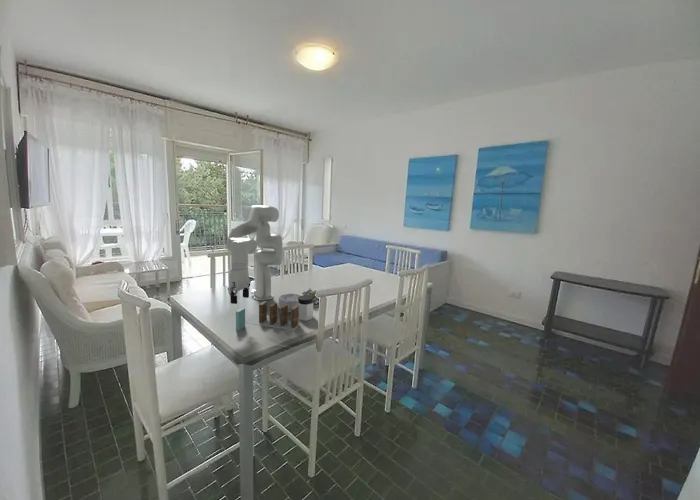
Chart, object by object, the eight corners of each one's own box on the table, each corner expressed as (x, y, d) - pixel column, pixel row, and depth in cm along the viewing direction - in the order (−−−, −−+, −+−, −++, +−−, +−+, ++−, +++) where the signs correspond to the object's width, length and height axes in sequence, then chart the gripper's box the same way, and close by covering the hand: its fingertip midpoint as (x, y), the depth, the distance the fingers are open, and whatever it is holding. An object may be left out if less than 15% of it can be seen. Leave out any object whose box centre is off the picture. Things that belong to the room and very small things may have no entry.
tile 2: (259, 322, 151) (258, 304, 149) (263, 319, 155) (263, 301, 154) (262, 323, 150) (262, 304, 149) (266, 319, 155) (266, 301, 153)
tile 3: (269, 324, 149) (269, 305, 148) (274, 320, 154) (274, 302, 152) (272, 324, 149) (272, 306, 147) (277, 321, 154) (277, 303, 152)
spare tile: (236, 330, 141) (235, 311, 140) (242, 326, 146) (241, 307, 144) (239, 331, 141) (239, 311, 139) (245, 326, 146) (245, 308, 144)
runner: (242, 323, 150) (242, 322, 150) (252, 315, 160) (252, 315, 160) (294, 331, 144) (294, 330, 144) (301, 323, 153) (301, 322, 153)
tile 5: (290, 327, 147) (291, 309, 145) (294, 323, 152) (295, 305, 150) (294, 328, 146) (294, 309, 145) (298, 324, 151) (298, 306, 149)
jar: (306, 313, 166) (306, 293, 164) (315, 318, 161) (316, 297, 159) (294, 318, 160) (294, 297, 158) (303, 322, 154) (304, 301, 152)
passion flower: (311, 314, 180) (302, 301, 173) (305, 305, 189) (296, 293, 182) (325, 303, 182) (317, 290, 176) (319, 295, 191) (310, 282, 185)
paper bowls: (290, 303, 182) (290, 291, 180) (309, 308, 175) (310, 296, 173) (273, 310, 168) (273, 297, 167) (293, 316, 161) (294, 303, 160)
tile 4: (280, 325, 148) (280, 307, 146) (284, 322, 153) (284, 304, 151) (283, 326, 148) (283, 307, 146) (287, 322, 152) (287, 304, 151)
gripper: (243, 262, 147) (243, 294, 150) (221, 268, 131) (221, 305, 133) (256, 263, 146) (256, 296, 148) (235, 270, 129) (236, 307, 131)
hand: (240, 300), depth 141 cm, fingers open, 9 cm apart
